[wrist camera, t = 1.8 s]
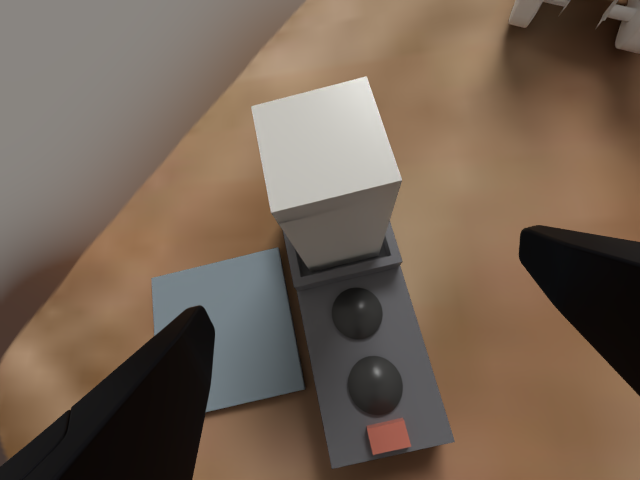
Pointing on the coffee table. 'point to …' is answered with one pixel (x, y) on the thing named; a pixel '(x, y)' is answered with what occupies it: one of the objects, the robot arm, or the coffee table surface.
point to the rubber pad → (239, 325)
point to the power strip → (368, 358)
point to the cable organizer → (633, 34)
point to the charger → (328, 172)
